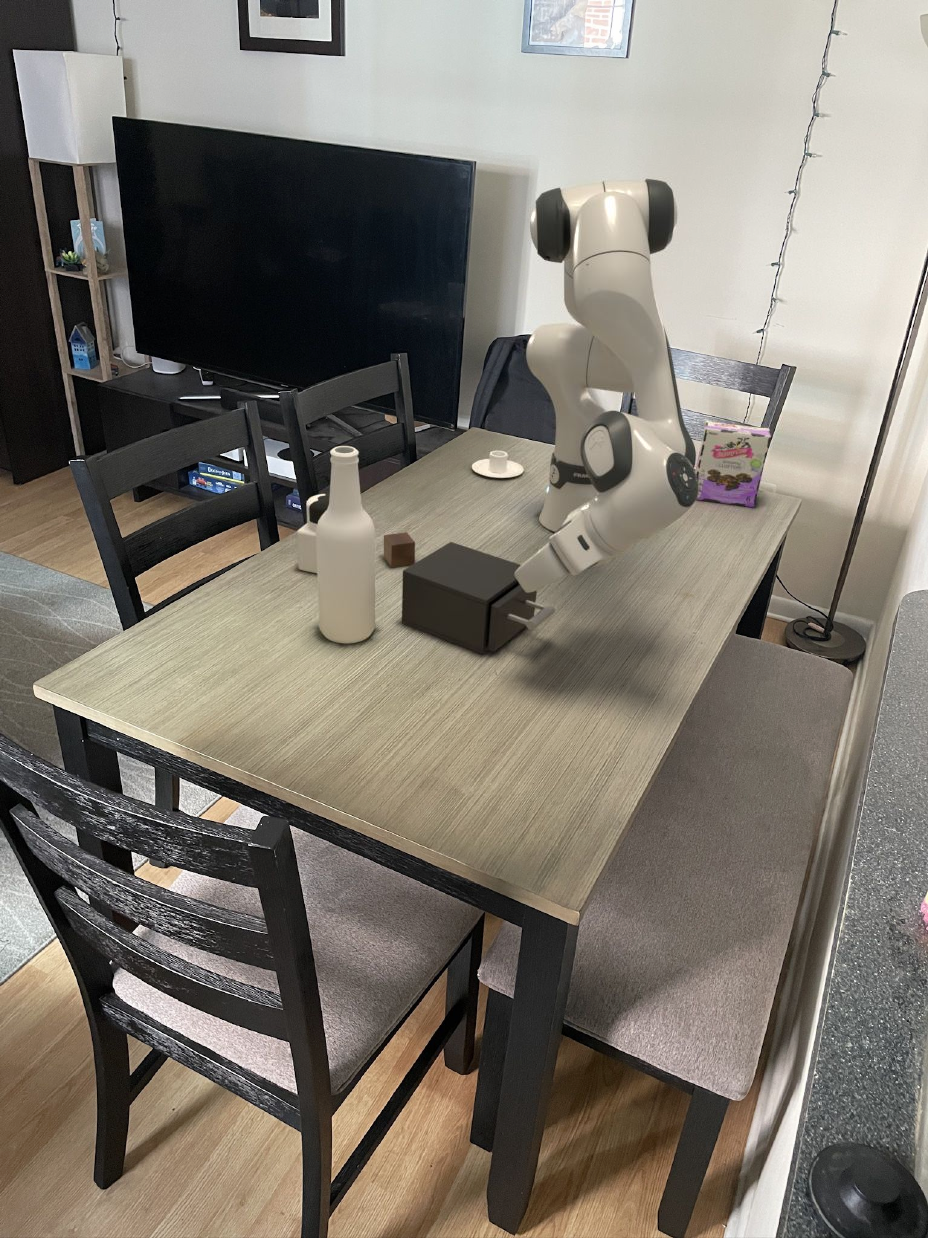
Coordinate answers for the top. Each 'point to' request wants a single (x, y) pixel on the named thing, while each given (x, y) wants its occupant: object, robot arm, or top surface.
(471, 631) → the small drawer cabinet
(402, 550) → the block
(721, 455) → the candy box
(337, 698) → the top surface
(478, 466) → the candle holder
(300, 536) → the container
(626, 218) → the robot arm
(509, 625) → the pull-out drawer
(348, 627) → the alcohol
